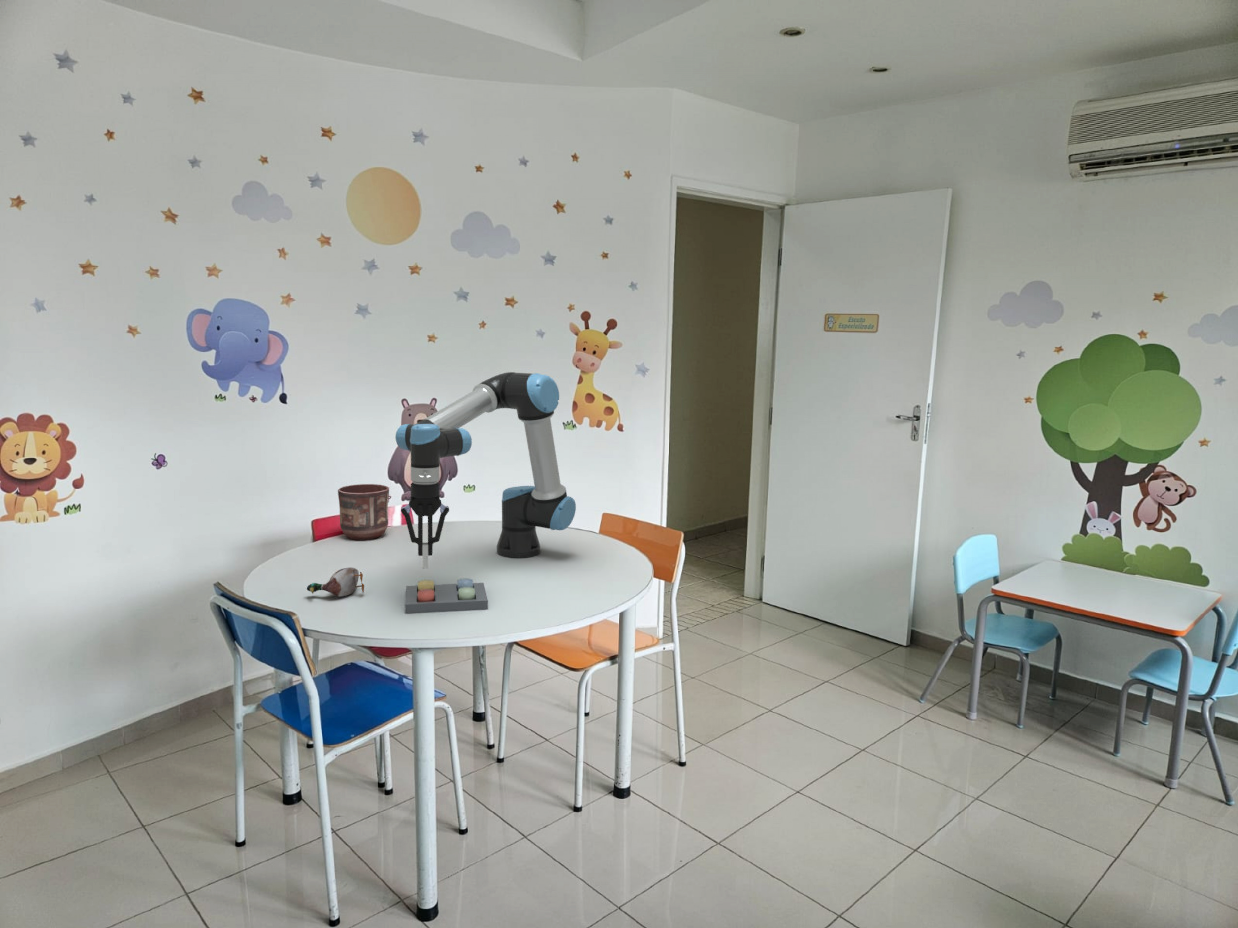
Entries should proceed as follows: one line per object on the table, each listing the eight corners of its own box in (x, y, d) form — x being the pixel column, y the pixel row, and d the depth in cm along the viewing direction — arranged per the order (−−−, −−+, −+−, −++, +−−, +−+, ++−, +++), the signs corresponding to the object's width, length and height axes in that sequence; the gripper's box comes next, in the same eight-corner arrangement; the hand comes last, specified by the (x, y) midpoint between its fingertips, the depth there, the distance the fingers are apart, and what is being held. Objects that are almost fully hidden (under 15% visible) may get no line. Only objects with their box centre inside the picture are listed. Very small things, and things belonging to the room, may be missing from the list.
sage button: (474, 597, 221) (474, 586, 220) (475, 603, 216) (475, 591, 216) (458, 598, 219) (458, 587, 219) (459, 603, 215) (459, 592, 215)
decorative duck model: (301, 580, 215) (316, 562, 230) (305, 605, 217) (320, 586, 232) (356, 575, 217) (368, 557, 231) (360, 600, 218) (371, 582, 233)
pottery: (381, 543, 278) (380, 494, 275) (332, 541, 278) (330, 492, 275) (395, 531, 295) (395, 484, 293) (349, 529, 296) (348, 483, 293)
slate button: (472, 588, 228) (472, 578, 228) (473, 593, 224) (473, 582, 223) (457, 589, 227) (457, 578, 227) (457, 594, 223) (457, 583, 222)
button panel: (483, 590, 231) (483, 582, 231) (487, 609, 216) (487, 600, 215) (406, 594, 226) (406, 585, 225) (405, 613, 210) (405, 604, 210)
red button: (434, 599, 218) (434, 588, 217) (434, 605, 214) (434, 593, 213) (417, 600, 217) (417, 589, 216) (417, 606, 213) (417, 594, 212)
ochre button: (433, 590, 226) (433, 579, 225) (434, 595, 221) (433, 584, 221) (418, 591, 224) (417, 580, 224) (417, 596, 220) (417, 585, 220)
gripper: (399, 484, 205) (400, 571, 208) (450, 484, 208) (450, 570, 211) (400, 479, 212) (400, 563, 215) (449, 479, 215) (449, 562, 219)
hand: (425, 566), depth 213 cm, fingers closed
